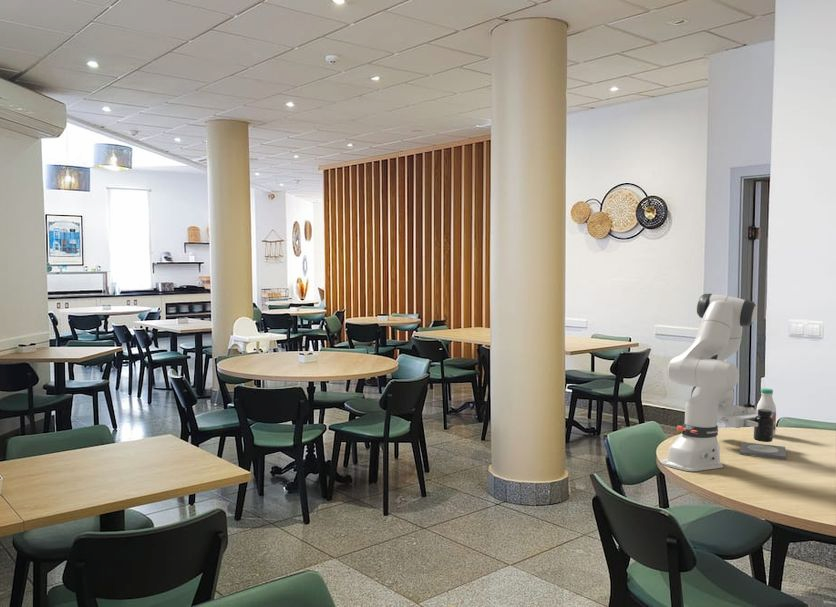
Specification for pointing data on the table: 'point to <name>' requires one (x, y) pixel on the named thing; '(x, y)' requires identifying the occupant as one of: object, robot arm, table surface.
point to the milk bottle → (768, 404)
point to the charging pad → (763, 450)
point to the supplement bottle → (764, 426)
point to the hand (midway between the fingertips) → (765, 423)
